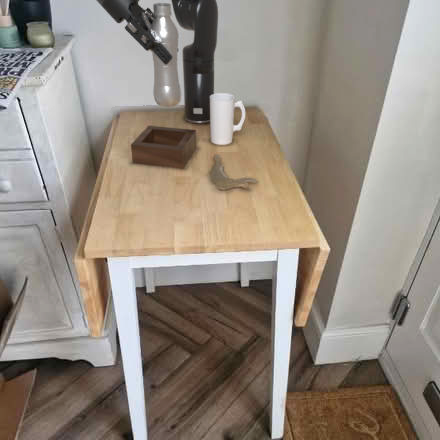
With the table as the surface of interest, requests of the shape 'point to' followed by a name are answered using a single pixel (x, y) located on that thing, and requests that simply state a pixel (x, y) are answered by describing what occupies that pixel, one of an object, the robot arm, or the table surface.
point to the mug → (224, 117)
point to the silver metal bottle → (167, 73)
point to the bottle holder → (164, 147)
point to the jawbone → (223, 181)
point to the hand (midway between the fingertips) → (172, 57)
